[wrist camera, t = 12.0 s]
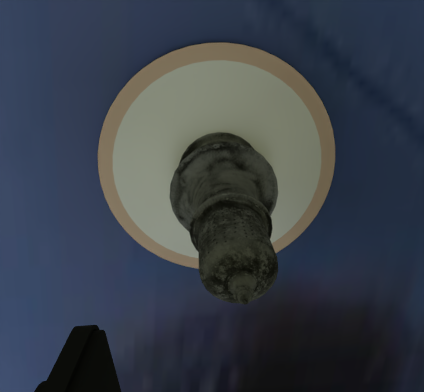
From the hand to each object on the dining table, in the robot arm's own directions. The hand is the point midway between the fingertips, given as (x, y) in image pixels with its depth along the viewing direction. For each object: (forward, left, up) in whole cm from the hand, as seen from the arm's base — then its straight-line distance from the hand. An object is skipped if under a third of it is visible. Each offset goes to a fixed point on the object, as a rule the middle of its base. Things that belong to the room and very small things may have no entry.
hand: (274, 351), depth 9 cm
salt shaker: (+1, 0, -14) cm, 14 cm away
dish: (+1, -1, -15) cm, 15 cm away
